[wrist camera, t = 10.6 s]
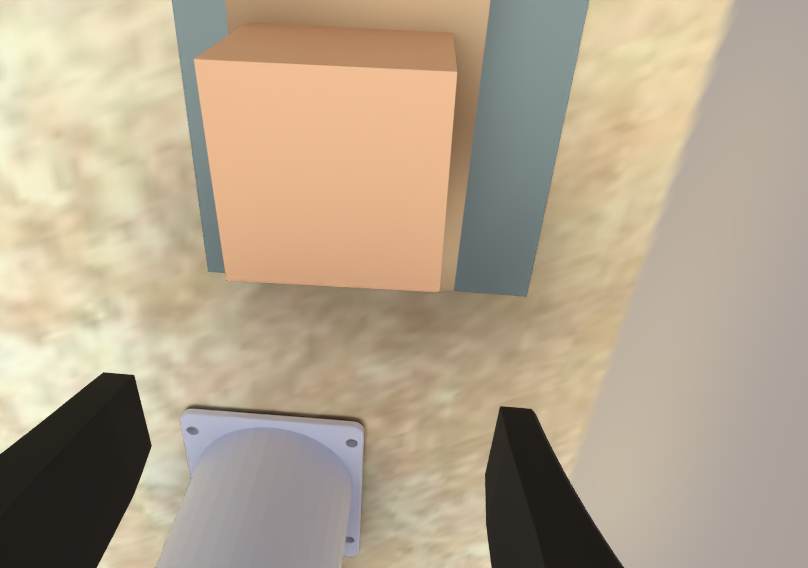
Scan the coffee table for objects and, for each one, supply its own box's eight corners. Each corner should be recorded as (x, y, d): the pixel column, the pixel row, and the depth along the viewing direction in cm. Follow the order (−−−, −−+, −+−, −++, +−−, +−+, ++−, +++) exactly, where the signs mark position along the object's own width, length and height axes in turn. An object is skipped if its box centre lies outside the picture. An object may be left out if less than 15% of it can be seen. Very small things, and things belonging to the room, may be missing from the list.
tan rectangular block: (450, 202, 19) (453, 291, 15) (291, 190, 19) (250, 275, 15) (483, -97, 15) (502, -92, 10) (277, -112, 15) (214, -113, 11)
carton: (438, 219, 14) (439, 292, 11) (264, 209, 14) (226, 280, 11) (452, 32, 12) (457, 71, 9) (245, 22, 12) (193, 58, 9)
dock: (521, 273, 22) (532, 322, 20) (221, 250, 22) (193, 296, 20) (620, -223, 14) (659, -247, 12) (161, -258, 14) (103, -289, 12)
